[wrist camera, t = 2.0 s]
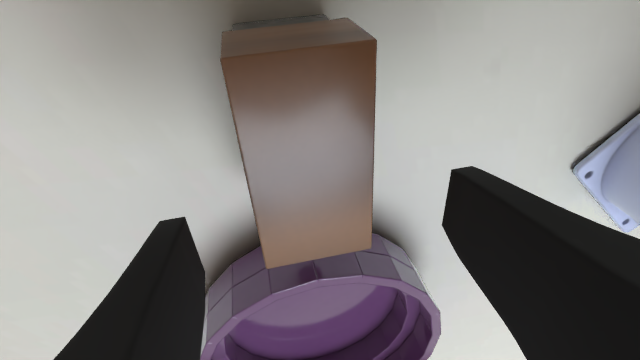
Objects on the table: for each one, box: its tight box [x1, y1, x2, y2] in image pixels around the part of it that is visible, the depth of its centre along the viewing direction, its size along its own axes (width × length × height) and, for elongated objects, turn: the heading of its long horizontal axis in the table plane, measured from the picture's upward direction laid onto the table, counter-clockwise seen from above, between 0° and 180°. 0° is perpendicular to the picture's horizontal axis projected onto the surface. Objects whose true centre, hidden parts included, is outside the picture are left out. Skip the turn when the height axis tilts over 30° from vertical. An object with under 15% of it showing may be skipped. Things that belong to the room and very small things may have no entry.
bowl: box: [200, 233, 441, 360], centre depth 23 cm, size 14×14×4 cm
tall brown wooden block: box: [220, 14, 377, 269], centre depth 14 cm, size 8×4×6 cm, turn 4°
